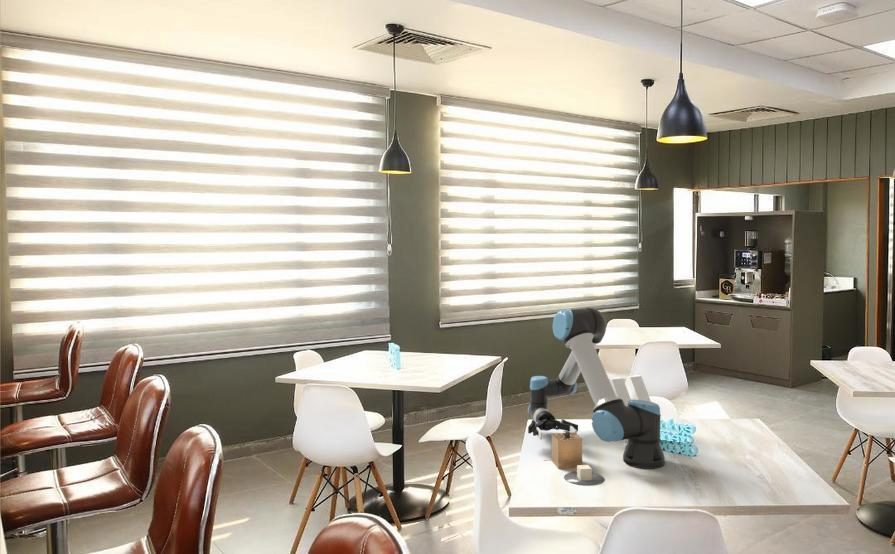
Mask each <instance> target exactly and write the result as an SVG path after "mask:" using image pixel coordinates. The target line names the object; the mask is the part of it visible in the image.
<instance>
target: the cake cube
mask: <svg viewBox="0 0 895 554" xmlns="http://www.w3.org/2000/svg"><path fill="white" fill-rule="evenodd" d="M576 471H577V477H578V478H579V479H580V481H581V480H592V472H593V471H592V467H591V466H590V465H589V464H582V465H577V468H576Z"/></svg>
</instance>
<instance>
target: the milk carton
mask: <svg viewBox="0 0 895 554" xmlns="http://www.w3.org/2000/svg"><path fill="white" fill-rule="evenodd" d="M608 379H609V381H610V383H611V385H612V388H613V390H614V392H615V394H616V396H617V397H618V398H621V399H622V400H623V402H624V404H625V406H628V401H629V400H644V401H649V402H652V401H651V398H650V395H649V392H648V390H647V387H646V386H645V382H644V379H643V376H642V375H639V374H638V375H628V376H627V377H626V379H625V380H624V378H623V377H621V376H620V377H610V378H608ZM619 442H621V443H623V444H627V442H628V439H625V440H620V441H619Z"/></svg>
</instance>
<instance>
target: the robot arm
mask: <svg viewBox="0 0 895 554" xmlns="http://www.w3.org/2000/svg"><path fill="white" fill-rule="evenodd" d="M606 330H607V321H606V317H605V316H604V314H603V313H602V312H601V311H599V310H598V309H596V308H593V307H582V308H571V309H570V308H567V309H562V310H559V311H558V312H557V313H556V314H555V316H554V317H553V322H552V332H553V335H554V337H555V338H556V339H558V340H559V341H563V343H564V345H565V348H568V349H570V350H571V352H570V354H569V356H568V357H567V359H566V361H565V363H564V365H563V367H562V368H561V370H560V372H559V374H558V376H557V378H555V379H554V378H553V379H548V377H547V376H544V375H534V376H531V378H530V380H529V381H530V383H529V397H530V398H529V399H530V401H529V405H528V408H527V413H528V415H529V418H531V419H532V420H531V423H530V424H529V425H528V426H527V427H528V429H527V430H528V431H527V433H528V434H532V435H533V436H534V437H535V436H537V437H538V438H539V439H540V440H543V431H545V432H548V431H550V430H556V431H558V430H561V431H569V432H570V433H571V432H575V433H576V434H577V435H578V432H579V425H578V424H576V423H573V422H570V421H567V420H565V419H561V420H557V419H556V418H555V416H554V415H553V414H552V413H551V412H550V411H549V409H548V403H549V402H548V401H549V398H556V397H562V396H569V395H574V394H575V393H576V392H577V390H578V384H577V383H578V382H577V380H578V378H579V377H580V374H581V375H582V378H583V380H584V383H585V385H586V387H587V390H588V392H589V394H590V396H591V399H592V401H593V404H594V406H593V409H592V412H593V414H592V416H591V425H592V426H591V427H592V430H593V432H594V433H595V435H596V437H598V438H599V439H600V440H602V441H604V442H607V443H612V442H614V443H615V442H618V443H619V442H621V441H620V440H625V439H628V442H627V443H626V445H625V448H624V450H623V451H624V452H623V455H622V461H623V463H625V464H626V465H627V466H631V467H634V468H640V469H658V468H659V469H660V468H661V467H664V466H665V465H666V459H665V454H664V452H663V448H662V445H661V417H662V416H661V414H662V413H661V407H660V405H659V404H658V403H656V402H653V401H651V402H649V401H644V400H629V401H628V406H625V404H624V402H623V400H622V399H621V398H618V397H617V396H616V394H615V392H614V390H613V388H612V385H611V383H610V381H609V379H610V378H609V376H608V374H607V372H606V370H605V368H604V366H603V363H602V361H601V359H600V357H599V354H598V351H597V349H596V346H597V344H600V343H601V342H602V340H603V338H604V336H605V334H606V332H607V331H606Z"/></svg>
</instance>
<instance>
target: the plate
mask: <svg viewBox="0 0 895 554" xmlns="http://www.w3.org/2000/svg"><path fill="white" fill-rule="evenodd" d="M563 479H564V480H565V481H566V482H567V483H570V484H572V485H577V486H583V487H584V486H585V487H589V486H590V487H593V486H597V485H602V484H603V483H604V482H605V480H606V478H605V477H604V476H603V475H601V474H599V473H597V472H593V471H592V480H581V481H580V479H579V478H578V477H577V470H575V471H571V472H568V473H566V474H564V475H563Z"/></svg>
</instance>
